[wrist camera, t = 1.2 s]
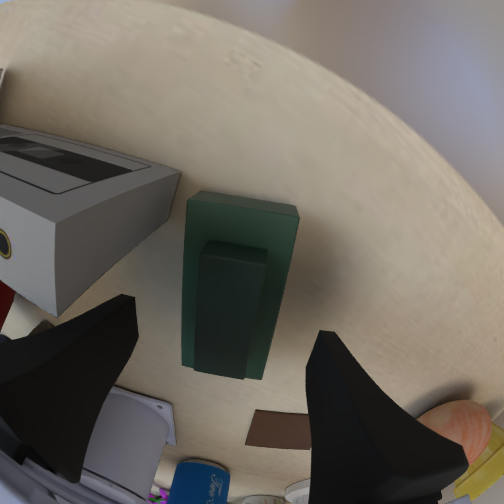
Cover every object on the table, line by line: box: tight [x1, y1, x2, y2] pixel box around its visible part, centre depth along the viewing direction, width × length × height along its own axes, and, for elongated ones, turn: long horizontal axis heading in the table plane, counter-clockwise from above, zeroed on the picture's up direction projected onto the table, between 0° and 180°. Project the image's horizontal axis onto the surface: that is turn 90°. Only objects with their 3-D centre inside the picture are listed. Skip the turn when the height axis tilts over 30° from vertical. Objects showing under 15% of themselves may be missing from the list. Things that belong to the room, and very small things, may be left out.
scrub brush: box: [181, 191, 300, 380], centre depth 13 cm, size 9×4×5 cm, turn 172°
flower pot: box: [453, 422, 504, 501], centre depth 16 cm, size 10×10×10 cm
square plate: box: [245, 410, 312, 450], centre depth 21 cm, size 6×6×1 cm
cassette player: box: [0, 124, 181, 318], centre depth 8 cm, size 16×3×10 cm, turn 70°
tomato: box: [416, 400, 492, 466], centre depth 16 cm, size 11×11×8 cm
